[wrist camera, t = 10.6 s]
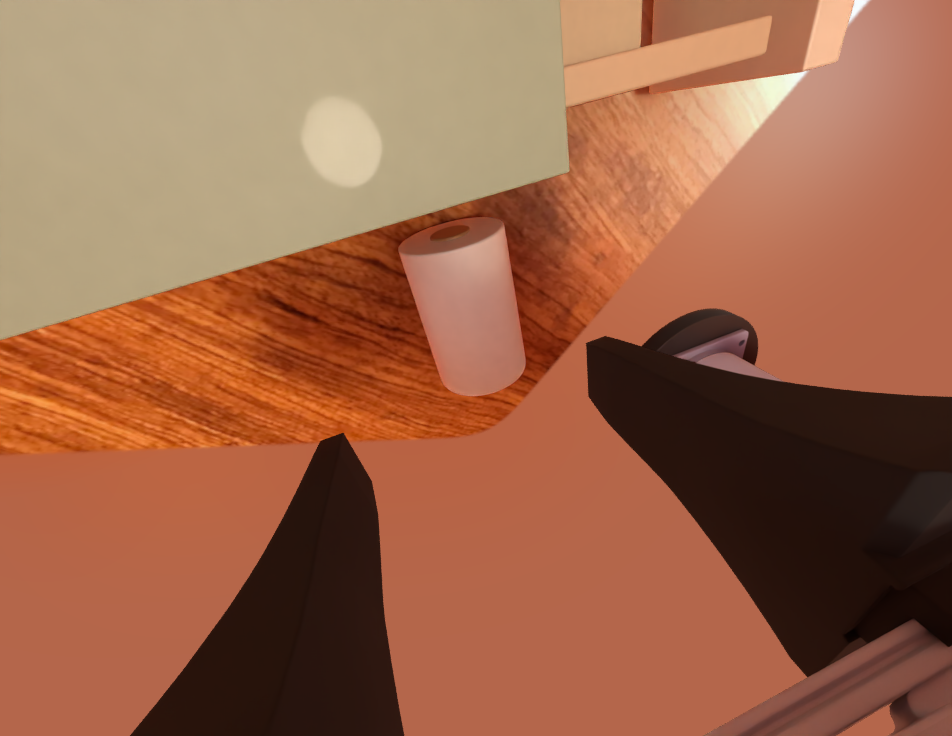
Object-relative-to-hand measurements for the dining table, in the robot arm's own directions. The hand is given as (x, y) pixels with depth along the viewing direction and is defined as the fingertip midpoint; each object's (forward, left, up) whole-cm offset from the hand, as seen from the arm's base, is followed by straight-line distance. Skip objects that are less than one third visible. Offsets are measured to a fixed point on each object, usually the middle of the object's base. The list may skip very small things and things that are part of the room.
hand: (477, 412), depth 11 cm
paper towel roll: (0, 0, -8) cm, 8 cm away
